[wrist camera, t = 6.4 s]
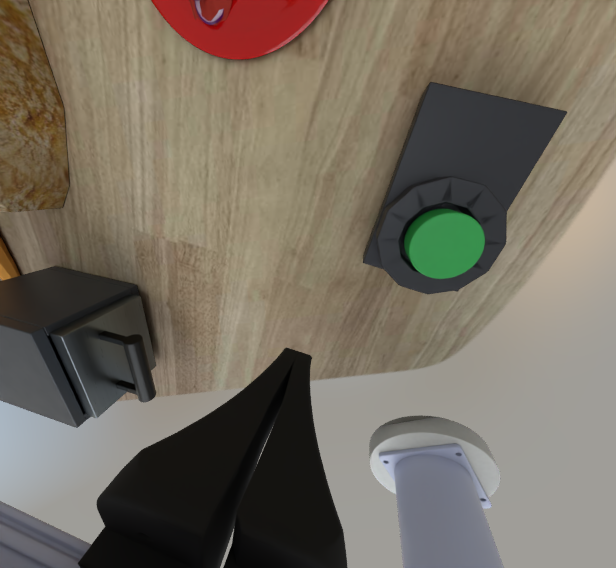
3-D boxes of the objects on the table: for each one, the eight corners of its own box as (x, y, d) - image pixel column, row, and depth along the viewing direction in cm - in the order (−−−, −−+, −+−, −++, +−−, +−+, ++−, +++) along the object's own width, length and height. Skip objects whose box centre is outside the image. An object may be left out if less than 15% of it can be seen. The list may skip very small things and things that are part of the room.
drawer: (175, 304, 23) (105, 349, 17) (185, 374, 27) (133, 431, 21) (64, 277, 25) (-34, 309, 19) (90, 346, 29) (16, 390, 23)
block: (448, 283, 17) (467, 307, 14) (362, 257, 18) (361, 274, 14) (543, 119, 12) (604, 99, 9) (422, 92, 13) (440, 65, 10)
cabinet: (137, 284, 24) (29, 333, 16) (154, 361, 28) (77, 428, 21) (55, 265, 26) (-78, 302, 18) (84, 341, 30) (-12, 396, 22)
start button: (451, 275, 14) (462, 287, 12) (394, 258, 14) (398, 268, 12) (484, 218, 12) (501, 223, 11) (419, 200, 12) (427, 203, 11)
